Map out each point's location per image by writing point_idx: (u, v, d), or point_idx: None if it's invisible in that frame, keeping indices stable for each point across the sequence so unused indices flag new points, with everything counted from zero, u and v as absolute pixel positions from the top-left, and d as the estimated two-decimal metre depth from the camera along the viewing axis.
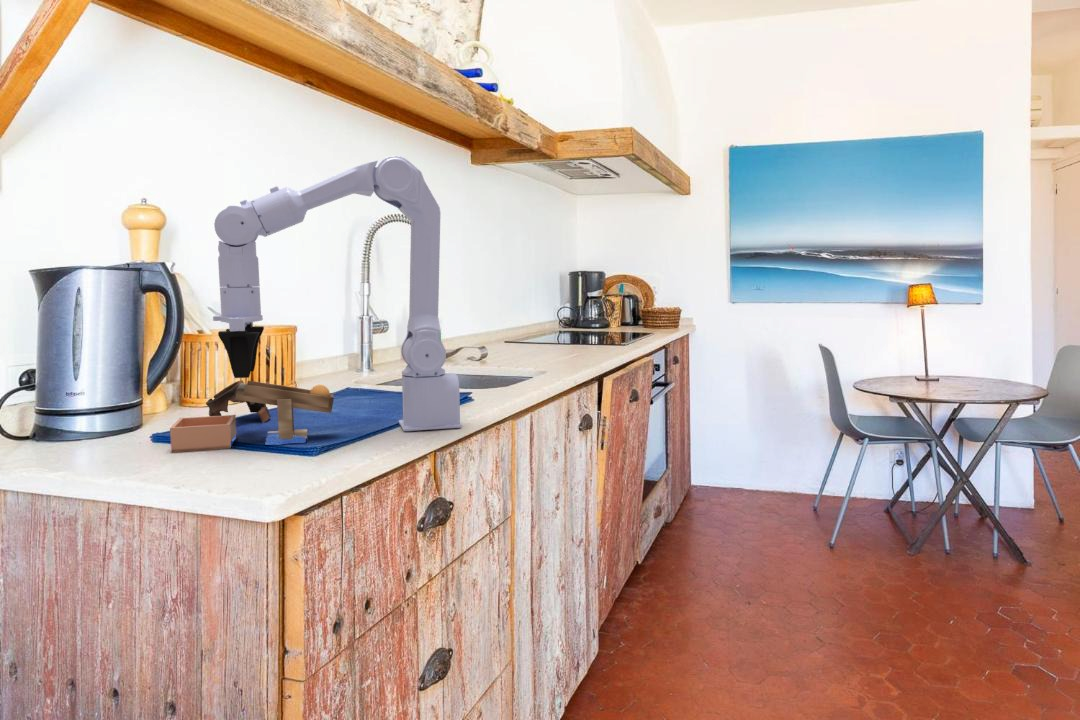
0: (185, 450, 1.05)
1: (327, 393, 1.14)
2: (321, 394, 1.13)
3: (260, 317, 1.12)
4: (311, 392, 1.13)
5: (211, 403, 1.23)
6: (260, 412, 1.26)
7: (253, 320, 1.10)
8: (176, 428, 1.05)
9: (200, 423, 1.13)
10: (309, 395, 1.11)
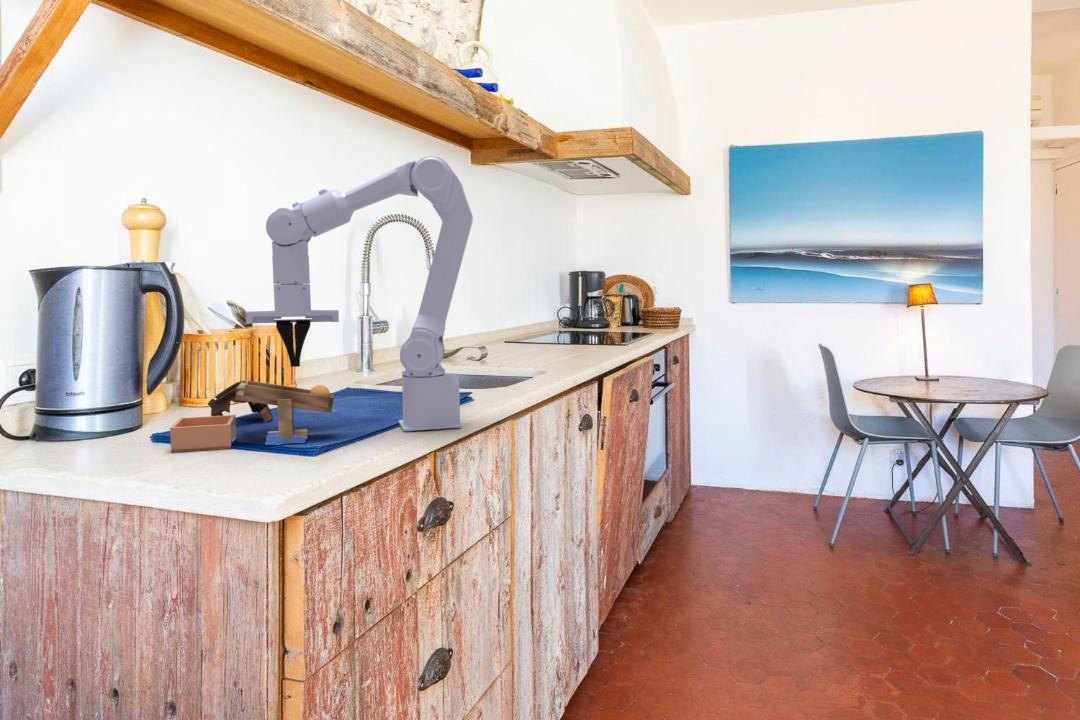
0: (185, 450, 1.05)
1: (327, 393, 1.14)
2: (321, 394, 1.13)
3: (285, 313, 1.17)
4: (311, 392, 1.13)
5: (213, 403, 1.23)
6: (262, 412, 1.26)
7: (270, 315, 1.17)
8: (176, 428, 1.05)
9: (200, 423, 1.13)
10: (309, 395, 1.11)
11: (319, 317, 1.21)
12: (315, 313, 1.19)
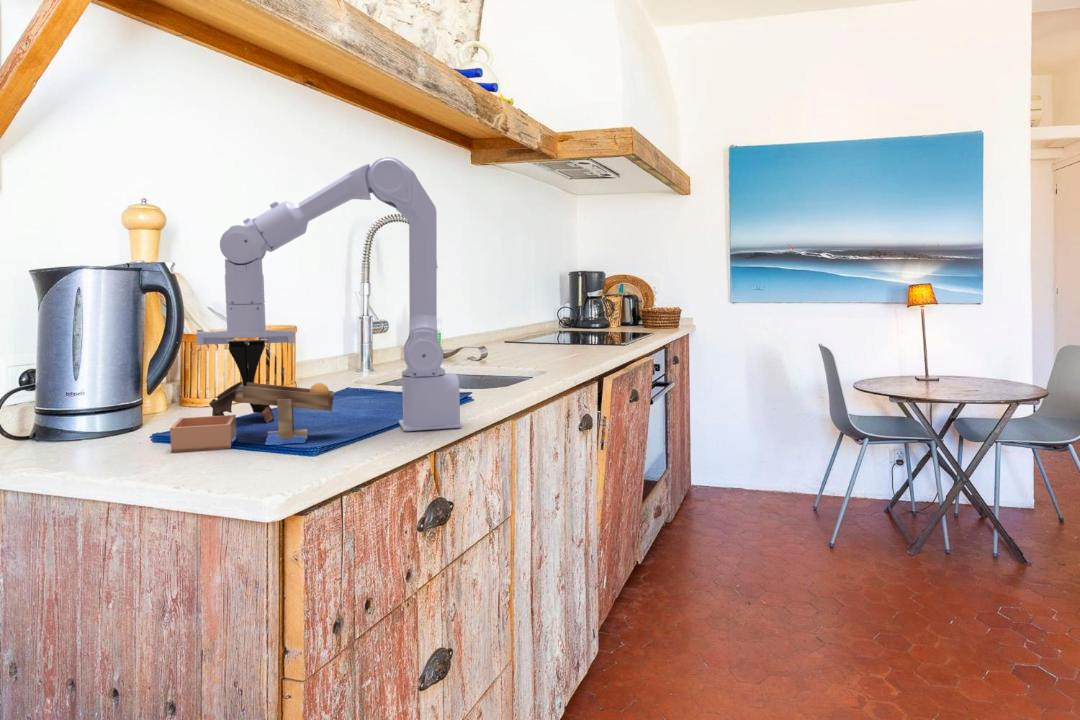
0: (185, 450, 1.05)
1: (326, 391, 1.13)
2: (320, 392, 1.13)
3: (237, 334, 1.13)
4: (310, 391, 1.13)
5: (215, 403, 1.23)
6: (264, 412, 1.26)
7: (222, 336, 1.13)
8: (176, 428, 1.05)
9: (200, 423, 1.13)
10: (309, 394, 1.11)
11: (274, 337, 1.17)
12: (269, 334, 1.15)
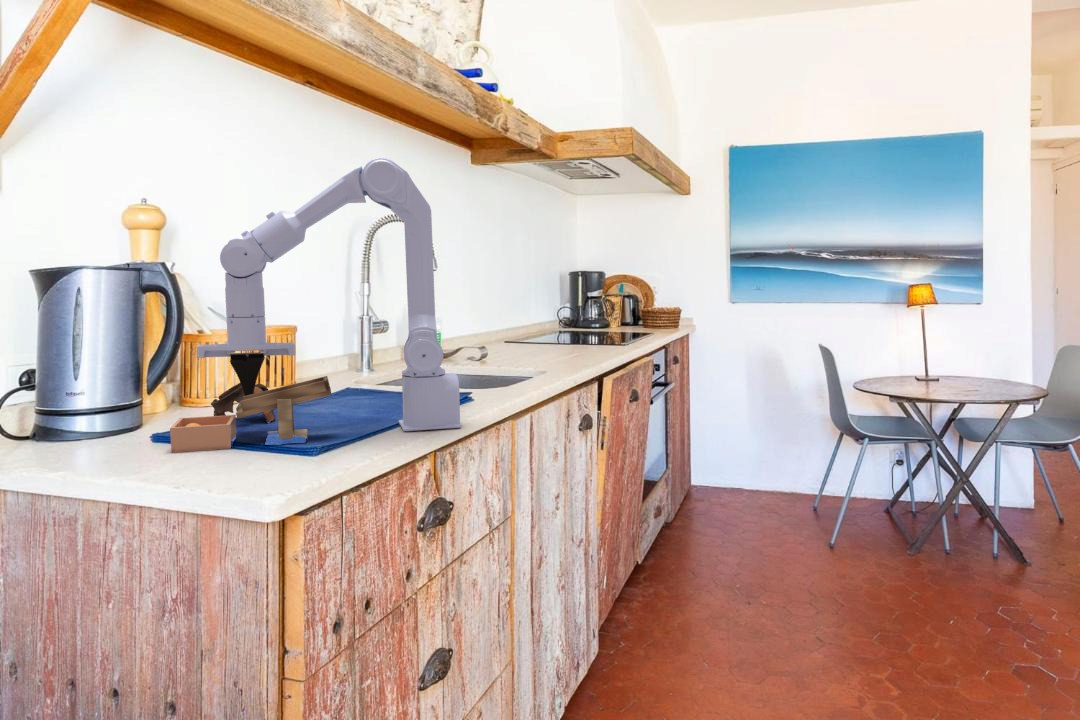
0: (185, 450, 1.05)
1: None
2: None
3: (238, 347, 1.13)
4: None
5: (216, 404, 1.23)
6: (265, 413, 1.26)
7: (222, 349, 1.13)
8: (176, 428, 1.05)
9: (200, 423, 1.13)
10: (303, 386, 1.11)
11: (275, 350, 1.17)
12: (270, 347, 1.15)
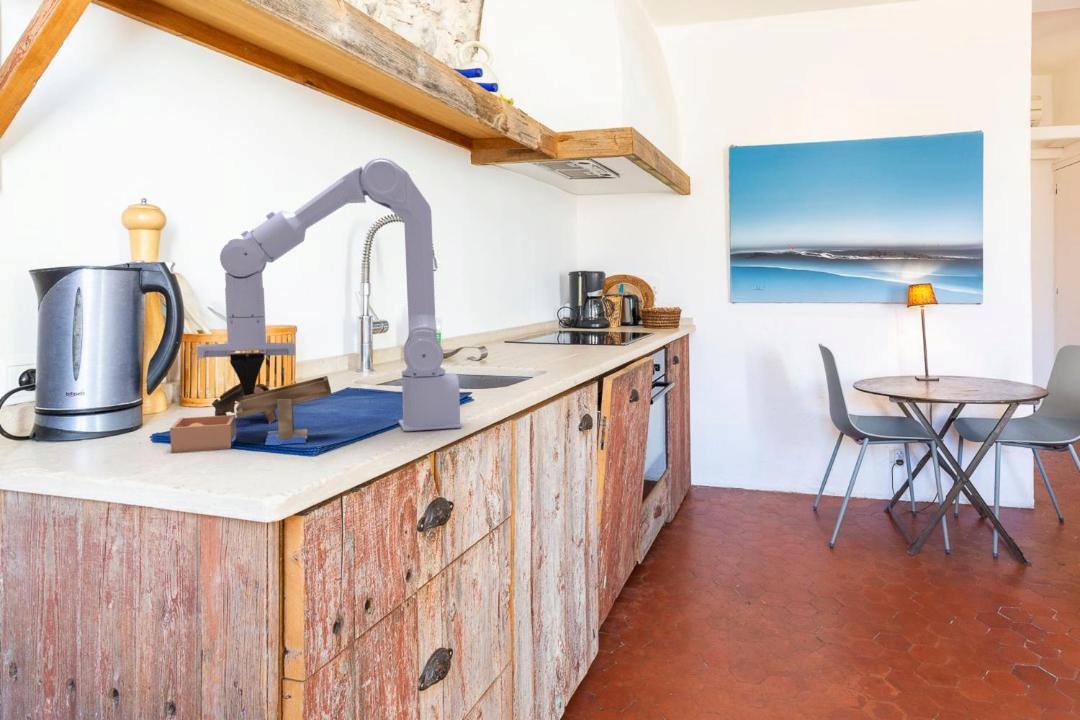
0: (185, 450, 1.05)
1: None
2: None
3: (238, 347, 1.13)
4: None
5: (217, 404, 1.23)
6: (267, 413, 1.25)
7: (222, 349, 1.13)
8: (176, 428, 1.05)
9: None
10: (303, 386, 1.11)
11: (275, 350, 1.17)
12: (270, 347, 1.15)
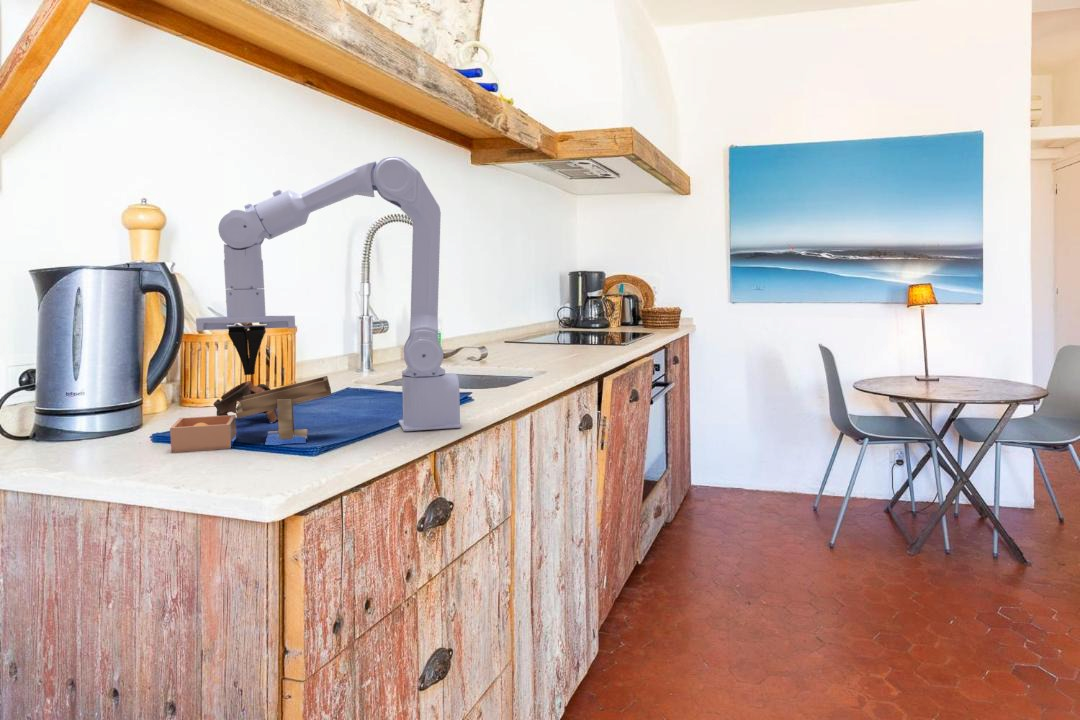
0: (185, 450, 1.05)
1: None
2: None
3: (237, 319, 1.12)
4: None
5: (219, 404, 1.23)
6: (268, 413, 1.25)
7: (222, 321, 1.12)
8: (176, 428, 1.05)
9: None
10: (303, 386, 1.11)
11: (274, 323, 1.16)
12: (269, 319, 1.15)
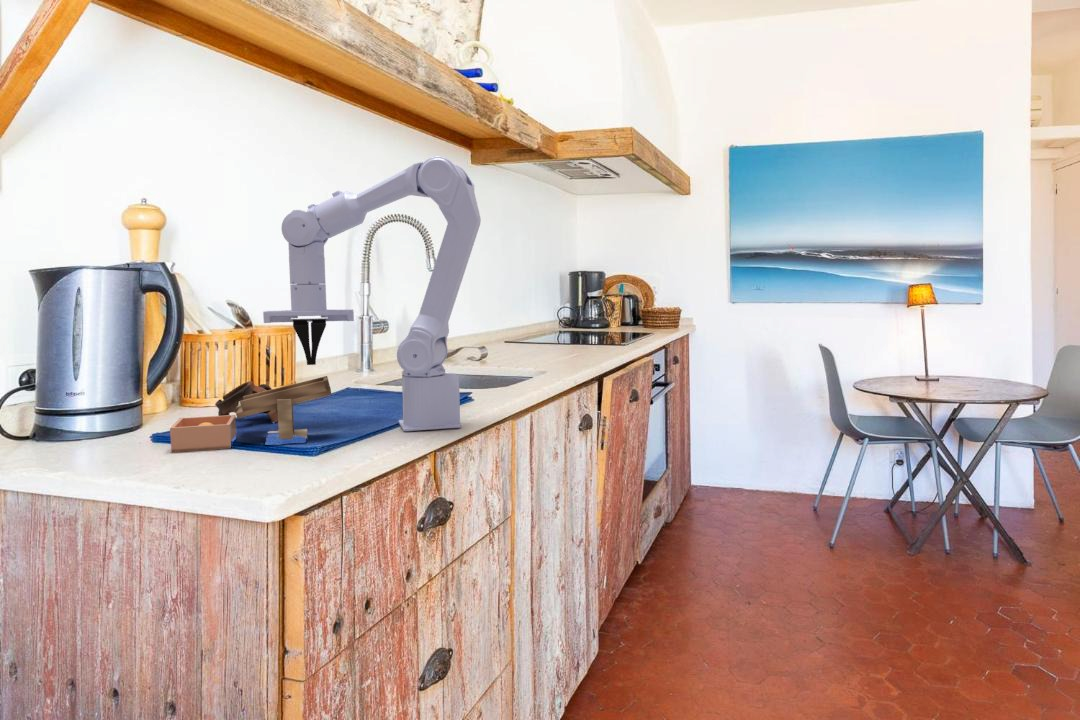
0: (185, 450, 1.05)
1: None
2: None
3: (302, 312, 1.20)
4: None
5: (221, 404, 1.22)
6: (270, 413, 1.25)
7: (287, 314, 1.20)
8: (176, 428, 1.05)
9: (200, 423, 1.13)
10: (303, 386, 1.11)
11: (334, 316, 1.24)
12: (331, 312, 1.22)
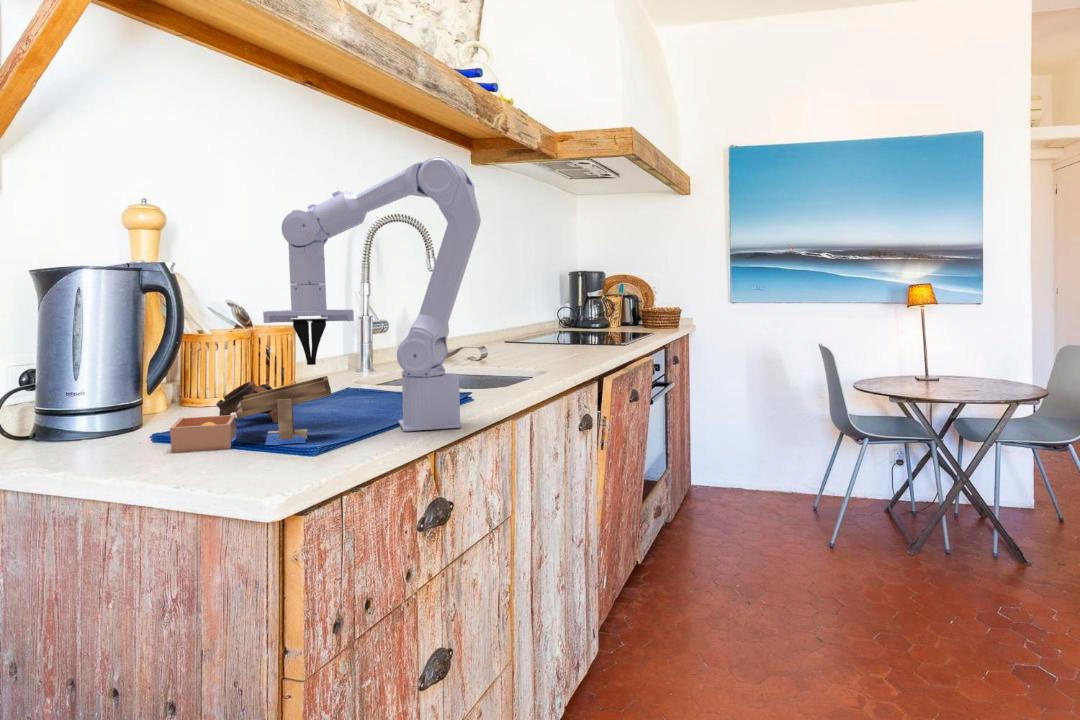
0: (185, 450, 1.05)
1: None
2: None
3: (302, 312, 1.20)
4: None
5: (222, 404, 1.22)
6: (271, 413, 1.25)
7: (287, 314, 1.20)
8: (176, 428, 1.05)
9: (200, 423, 1.13)
10: (303, 386, 1.11)
11: (334, 316, 1.24)
12: (331, 312, 1.22)
